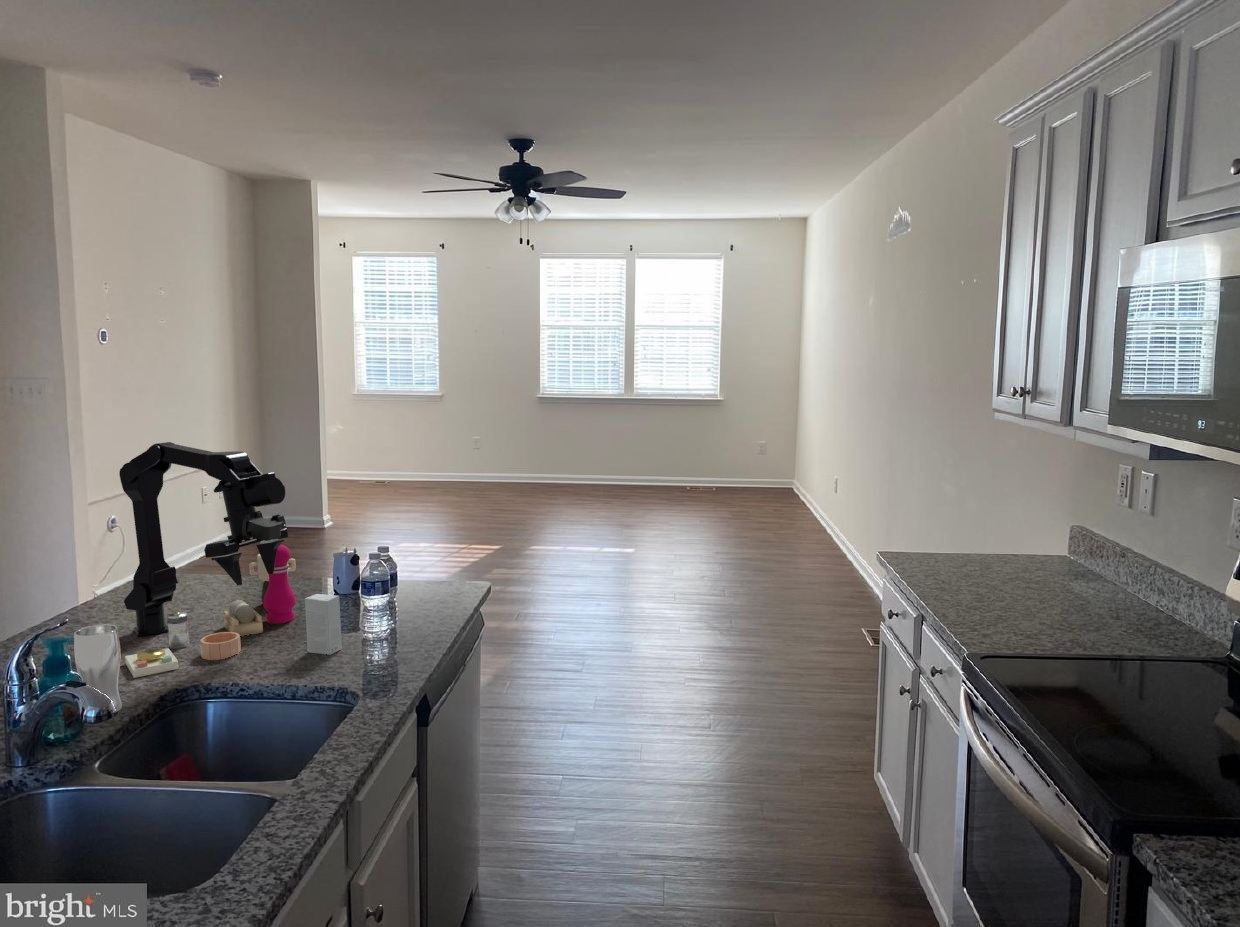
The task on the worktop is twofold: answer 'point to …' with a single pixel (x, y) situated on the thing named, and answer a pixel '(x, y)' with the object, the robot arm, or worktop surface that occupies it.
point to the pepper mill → (279, 591)
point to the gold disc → (151, 655)
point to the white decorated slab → (151, 664)
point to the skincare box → (323, 624)
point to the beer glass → (99, 659)
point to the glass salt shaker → (178, 630)
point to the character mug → (264, 574)
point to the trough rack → (242, 619)
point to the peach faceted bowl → (220, 645)
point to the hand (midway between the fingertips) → (255, 579)
